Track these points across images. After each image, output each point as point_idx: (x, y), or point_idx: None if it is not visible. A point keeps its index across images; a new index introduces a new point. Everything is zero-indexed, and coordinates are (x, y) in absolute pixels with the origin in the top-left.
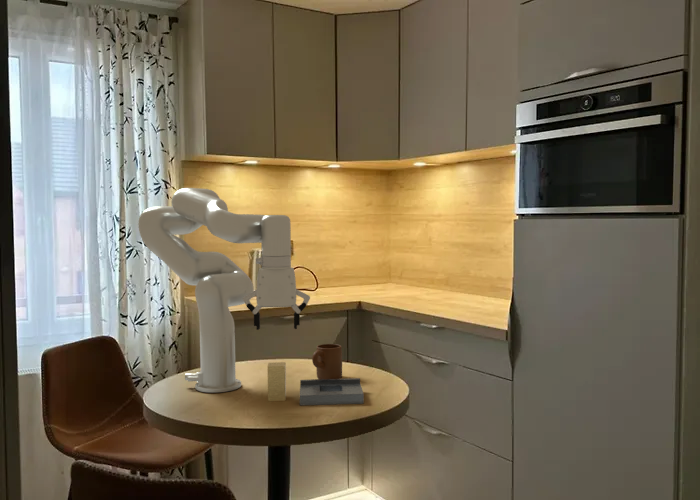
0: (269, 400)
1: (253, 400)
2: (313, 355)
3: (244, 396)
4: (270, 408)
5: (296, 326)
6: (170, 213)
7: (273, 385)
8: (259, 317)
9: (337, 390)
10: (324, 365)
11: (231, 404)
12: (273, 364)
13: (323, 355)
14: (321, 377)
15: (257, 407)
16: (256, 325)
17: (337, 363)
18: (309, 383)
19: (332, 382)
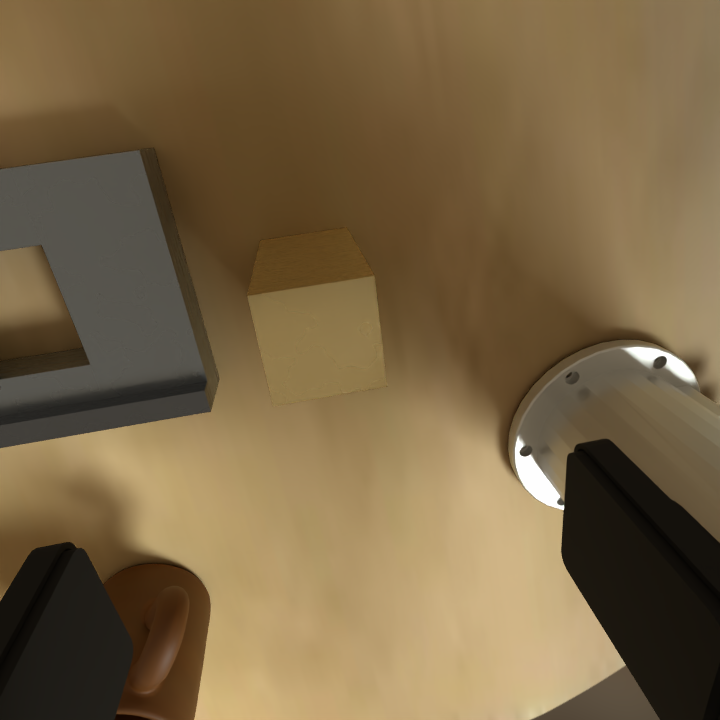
0: (340, 229)
1: (421, 236)
2: (173, 633)
3: (473, 302)
4: (304, 83)
5: (23, 570)
6: None
7: (323, 249)
8: (665, 632)
9: (3, 368)
10: (145, 618)
11: (519, 159)
12: (342, 336)
13: (133, 665)
14: (176, 573)
15: (379, 103)
16: (639, 469)
17: None
18: (157, 391)
19: (29, 414)
